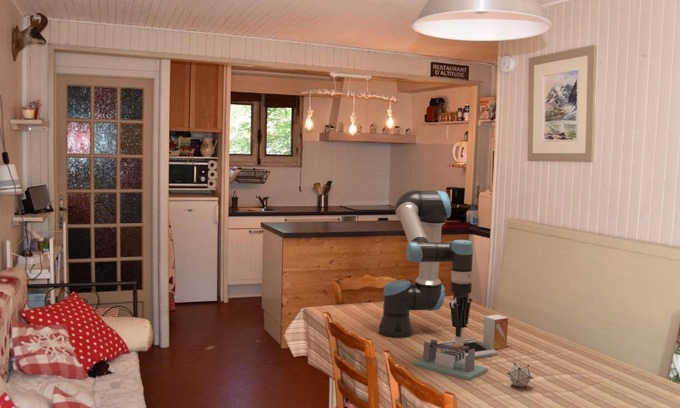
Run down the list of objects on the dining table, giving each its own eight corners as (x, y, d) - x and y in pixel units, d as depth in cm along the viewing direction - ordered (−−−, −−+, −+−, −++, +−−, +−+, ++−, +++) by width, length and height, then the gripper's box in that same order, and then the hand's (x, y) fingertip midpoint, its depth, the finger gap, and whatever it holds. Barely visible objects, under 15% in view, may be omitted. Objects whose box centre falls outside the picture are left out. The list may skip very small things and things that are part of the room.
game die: (513, 395, 234) (501, 368, 239) (535, 387, 235) (523, 360, 239) (516, 391, 226) (504, 363, 230) (540, 382, 227) (526, 355, 231)
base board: (413, 365, 253) (414, 342, 252) (432, 357, 264) (433, 335, 263) (469, 380, 238) (470, 355, 237) (487, 371, 248) (488, 347, 248)
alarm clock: (472, 338, 283) (498, 345, 268) (472, 349, 283) (498, 357, 268) (439, 342, 275) (464, 350, 260) (439, 353, 275) (464, 362, 260)
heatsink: (434, 368, 250) (435, 351, 249) (447, 363, 257) (447, 346, 256) (453, 373, 245) (453, 356, 244) (465, 367, 252) (466, 351, 251)
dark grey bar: (427, 347, 255) (426, 343, 255) (431, 345, 258) (431, 341, 258) (465, 351, 245) (465, 346, 245) (469, 349, 247) (469, 345, 247)
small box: (493, 350, 276) (494, 319, 275) (482, 346, 281) (483, 316, 280) (507, 347, 280) (508, 317, 279) (495, 343, 285) (497, 314, 284)
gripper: (461, 285, 239) (459, 350, 240) (478, 281, 249) (477, 343, 250) (443, 282, 244) (441, 346, 245) (461, 278, 254) (459, 339, 255)
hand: (459, 344), depth 248 cm, fingers closed
